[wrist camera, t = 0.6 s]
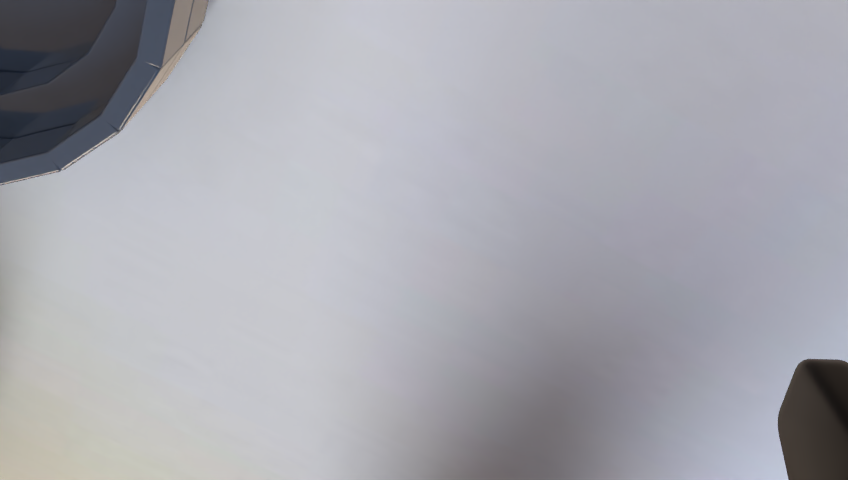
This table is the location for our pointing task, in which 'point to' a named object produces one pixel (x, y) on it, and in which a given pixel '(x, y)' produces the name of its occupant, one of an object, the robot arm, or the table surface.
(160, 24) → the bowl
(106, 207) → the table surface
